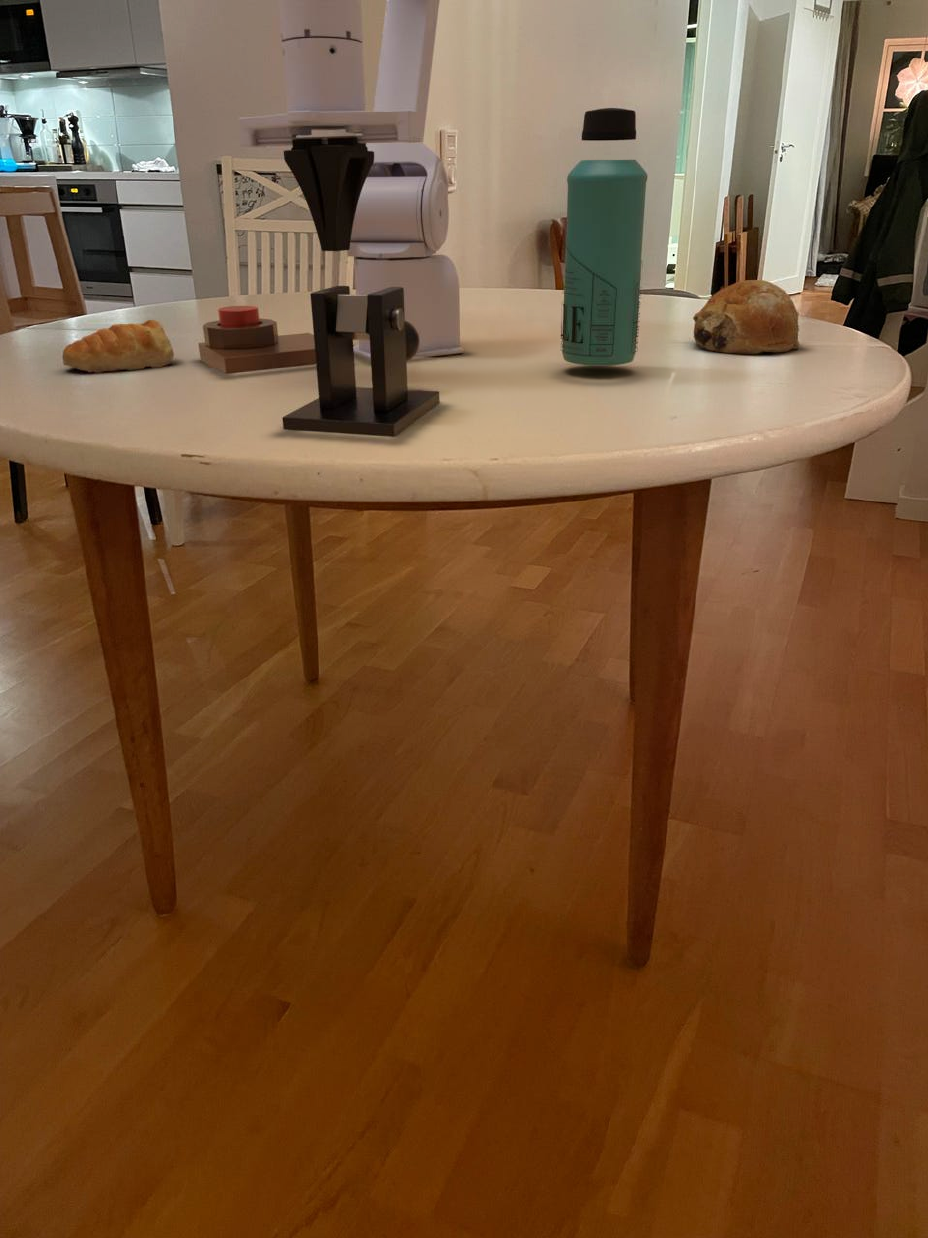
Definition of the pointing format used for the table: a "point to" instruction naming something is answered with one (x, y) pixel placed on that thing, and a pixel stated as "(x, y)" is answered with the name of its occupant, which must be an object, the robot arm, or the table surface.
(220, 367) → the button block
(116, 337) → the pastry
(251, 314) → the button
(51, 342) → the table surface
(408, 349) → the lever
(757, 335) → the bread roll
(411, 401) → the bracket
